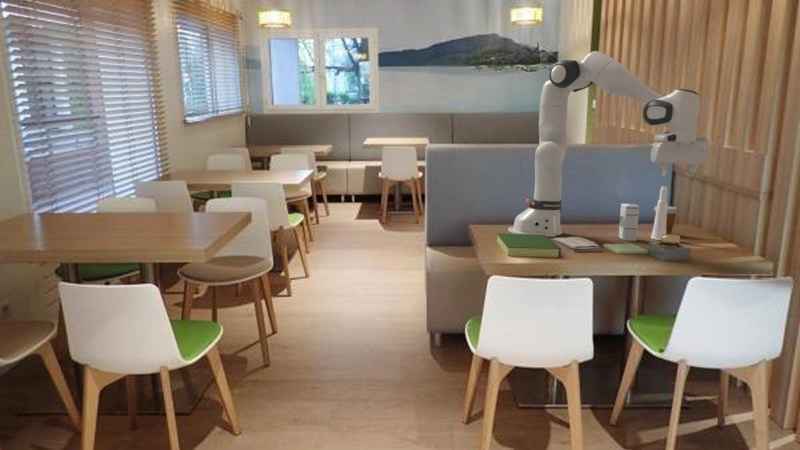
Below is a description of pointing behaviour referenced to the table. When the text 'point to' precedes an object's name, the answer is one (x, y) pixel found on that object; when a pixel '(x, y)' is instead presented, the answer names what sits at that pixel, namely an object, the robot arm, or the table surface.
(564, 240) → the washcloth
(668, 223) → the disposable coffee cup
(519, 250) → the hardcover book
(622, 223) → the syrup box
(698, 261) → the table surface
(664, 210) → the cosmetic bottle
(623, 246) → the pad
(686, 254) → the box
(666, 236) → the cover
